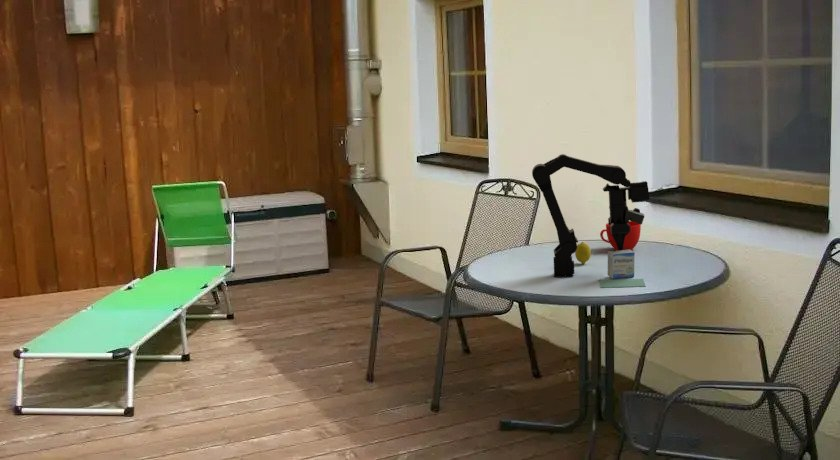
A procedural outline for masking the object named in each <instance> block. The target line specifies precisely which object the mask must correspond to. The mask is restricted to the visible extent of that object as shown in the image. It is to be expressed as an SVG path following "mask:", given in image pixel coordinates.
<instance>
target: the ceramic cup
mask: <svg viewBox="0 0 840 460" xmlns="http://www.w3.org/2000/svg"><path fill="white" fill-rule="evenodd" d="M627 223H628V224H629V225H630V233H629V234H627V235H626V236H625V240H624V246H623V250H629V249H630V250H632V251H633V250H634V248H635V247H636V246H637V245H638V243H639V241H640V237H641V230H642V229H641V228H642V227H641V226H642V224H638V223H636V222H633V221H630V220H629V222H627ZM611 225H612V224H611ZM609 226H610V225H609V224H608V222H607V223H606V224H605V229H602V230H601V231H600V234H599V235H600V239H601V240H602V241H603V242H605V243H608V244H609V245H611V246H612V248H613V249H614V251H619V249H618V247H617V245H616V243H615V241H614V238H613V236H612V234H611V230H610V228H609ZM605 232H606V237H607V239H606V238H605V237H604V233H605Z"/></svg>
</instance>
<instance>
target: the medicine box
mask: <svg viewBox="0 0 840 460" xmlns="http://www.w3.org/2000/svg"><path fill="white" fill-rule="evenodd" d="M635 257H636V255H635V252H634V251H633V250H630V249H629V250H619V251H616V250H610V251H607V276H608V277H609V278H611V280H615V279H626V278H627V279H629V278H634V277H635Z"/></svg>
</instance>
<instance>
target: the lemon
mask: <svg viewBox="0 0 840 460" xmlns="http://www.w3.org/2000/svg"><path fill="white" fill-rule="evenodd" d="M574 253H575V259H576V260H577V261H578V262H579V263H581V264H582V265H585V264H586V262H588V261H589V260H591V255H592V250H591V247H590V245H588V244H587V243H585V242H583V241H582V242H581V243H579V244H577V249H576V251H575V252H574Z"/></svg>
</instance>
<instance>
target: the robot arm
mask: <svg viewBox="0 0 840 460" xmlns="http://www.w3.org/2000/svg"><path fill="white" fill-rule="evenodd" d="M563 168H566V169H567V168H568V169H572V170H574V171H579V172H582V173H585V174H589V175H592V176H593V175H594V176H597V177H598V178H600V179H603V180H604V181H606V182H609V183H611V184H613V185H610V184H609V183H606V185H605V186H604V187H603V188H602V190H603V192H608V204H609V206H608V209H609V217H608V218H607V223H608V224H609V225H610V226H609V228H610V230H611V234H612V236H613V238H614V241H615V243H616V245H617V247H618V249H619V250H623V246H624V240H625V236H626V235H627V234H629V233H630V225H629V224H628V223H627V222H629V221H633V222H636V223H638V224H641V225H642V224H643V223H644V218H645V213H643V212H641V210H640V208H637V207H635V208H633V209H629V207H628V205H627V200H630V202H631V203H647V202H648V203H649V202H650V191H649V186H648V182H647V181H638V182H631V180H630V179H628V178H627V174H626V172H625V169H623V167H621V166H619V165H612V164H598V163H595V162H591V161H587V160H584V159H580V158H576V157H572V156H569V155H566V154H563V153H561V154H559V155H558V156H556V157H555V158H553V159H550V160H548V161H547V162H545V163H538V164H536V165H534V167H533V168H532V170H531V174H532V178H533V180H534V182H535V183H536V185H537V187H538V188H539V190H540V191H541V193H542V195H543V198H544V200H545V204H546V205H547V209H548V210H549V214H550V216H551V218H552V220H553V224H554V226H555V229H556V233H557V239H558V243H559V244H558V245H556V246H555V248H554V249H553V254H554V256H553V278H562V277H563V278H564V277H565V278H569V277H574V274H575V261H574V260H573V254H574V253H575V251H576V249H577V245H578V244H577V243H579V241H578V238H577V237H576V235H575V230H574V228H571V229H570V228H569V227H568V225H567V223H566V221H565V220H566V219H565V218H564V215H563V213H562V211H561V208H560V206H559V202H558V200H557V198H556V195H555V192H554V189H553V185H552V179H551V176H552V175H553V174H555V173H557V171H560V170H561V169H563ZM620 185H621V186H623V187H620ZM611 224H612V225H611Z"/></svg>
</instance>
